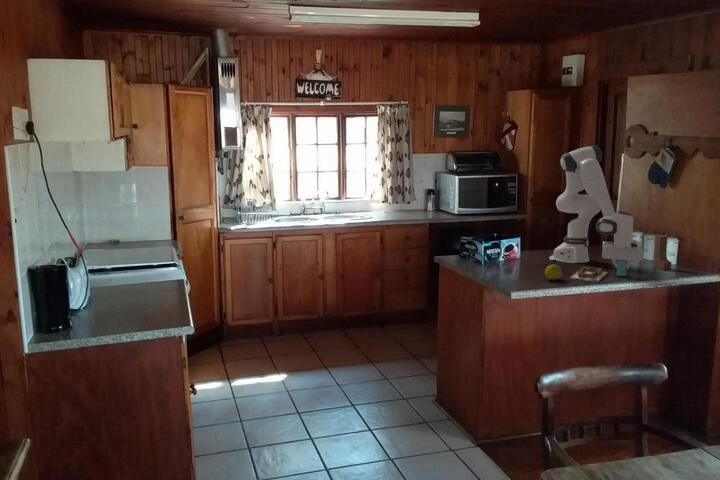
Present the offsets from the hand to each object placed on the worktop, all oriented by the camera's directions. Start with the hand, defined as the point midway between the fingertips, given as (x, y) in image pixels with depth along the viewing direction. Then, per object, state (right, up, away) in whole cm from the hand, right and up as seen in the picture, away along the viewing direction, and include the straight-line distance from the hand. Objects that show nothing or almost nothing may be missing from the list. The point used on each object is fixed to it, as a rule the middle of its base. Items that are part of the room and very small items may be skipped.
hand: (621, 268), depth 331 cm
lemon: (-38, -6, -5) cm, 39 cm away
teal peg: (0, -4, +1) cm, 4 cm away
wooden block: (+28, -1, +13) cm, 31 cm away
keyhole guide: (-17, -4, +1) cm, 17 cm away
